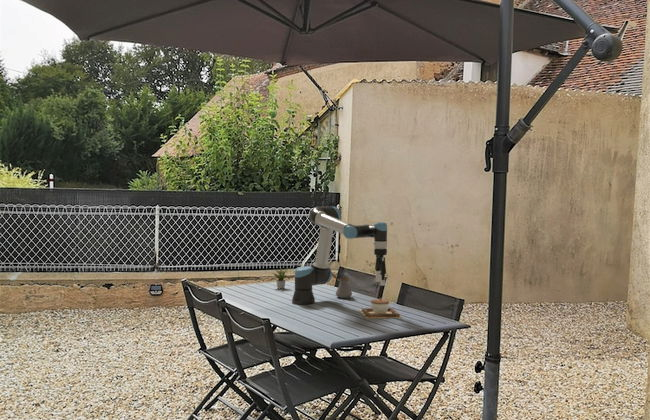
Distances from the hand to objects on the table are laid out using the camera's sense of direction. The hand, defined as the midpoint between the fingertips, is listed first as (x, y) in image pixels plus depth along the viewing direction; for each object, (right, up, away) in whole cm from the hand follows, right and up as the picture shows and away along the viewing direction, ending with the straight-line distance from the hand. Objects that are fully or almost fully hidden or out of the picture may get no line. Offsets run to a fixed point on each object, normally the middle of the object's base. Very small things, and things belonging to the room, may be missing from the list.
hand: (380, 283), depth 347 cm
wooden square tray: (0, -19, +1) cm, 19 cm away
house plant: (-66, -15, +92) cm, 114 cm away
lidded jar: (0, -18, +1) cm, 18 cm away
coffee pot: (-23, -17, +58) cm, 65 cm away
